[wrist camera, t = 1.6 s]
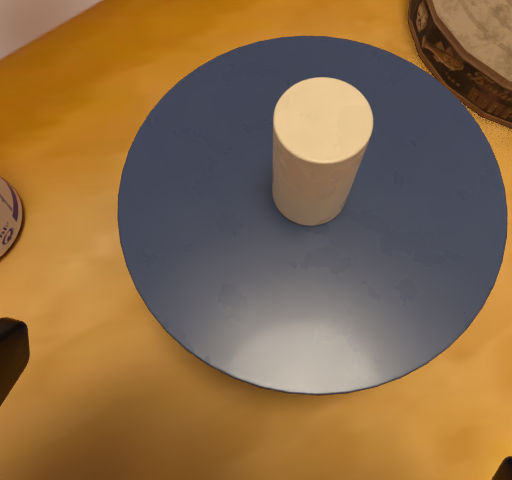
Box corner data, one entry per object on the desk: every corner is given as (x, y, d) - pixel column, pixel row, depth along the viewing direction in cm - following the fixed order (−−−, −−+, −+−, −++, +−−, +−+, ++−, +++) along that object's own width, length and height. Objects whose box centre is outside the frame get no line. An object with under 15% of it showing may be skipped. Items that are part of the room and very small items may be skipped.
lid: (470, 446, 15) (585, 474, 9) (71, 335, 16) (-29, 305, 11) (510, 90, 19) (606, -33, 13) (188, 27, 20) (158, -106, 15)
